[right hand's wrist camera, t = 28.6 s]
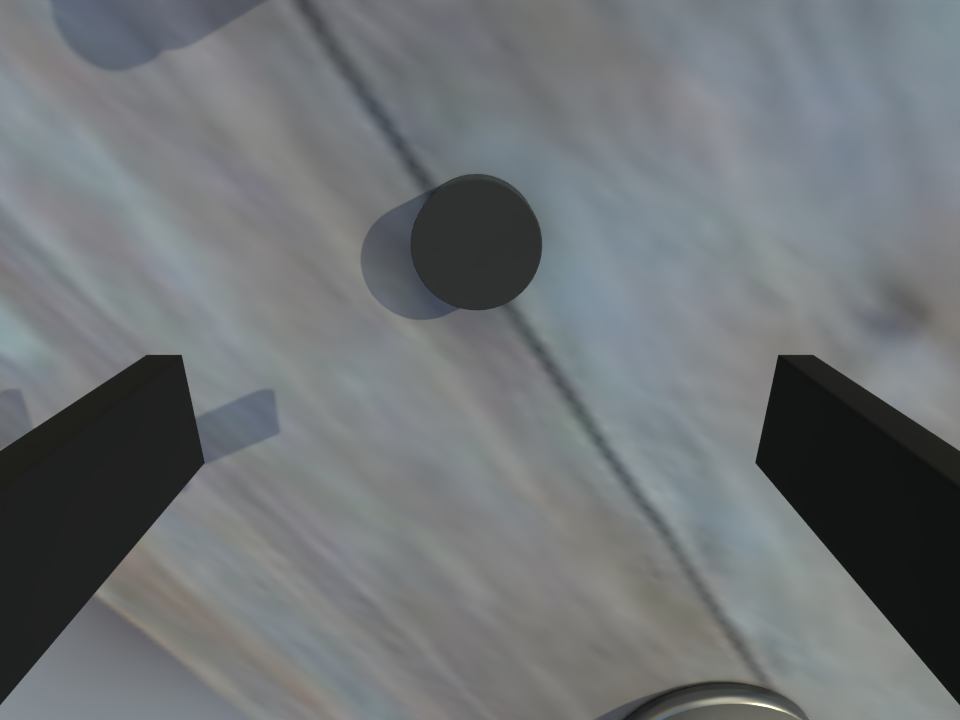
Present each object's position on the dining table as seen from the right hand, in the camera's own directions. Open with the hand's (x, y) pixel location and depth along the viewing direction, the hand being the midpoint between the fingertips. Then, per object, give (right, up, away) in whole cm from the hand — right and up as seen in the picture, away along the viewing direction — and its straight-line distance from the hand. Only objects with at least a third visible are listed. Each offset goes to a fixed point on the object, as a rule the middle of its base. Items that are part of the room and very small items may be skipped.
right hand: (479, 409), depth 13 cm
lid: (0, +6, +12) cm, 14 cm away
